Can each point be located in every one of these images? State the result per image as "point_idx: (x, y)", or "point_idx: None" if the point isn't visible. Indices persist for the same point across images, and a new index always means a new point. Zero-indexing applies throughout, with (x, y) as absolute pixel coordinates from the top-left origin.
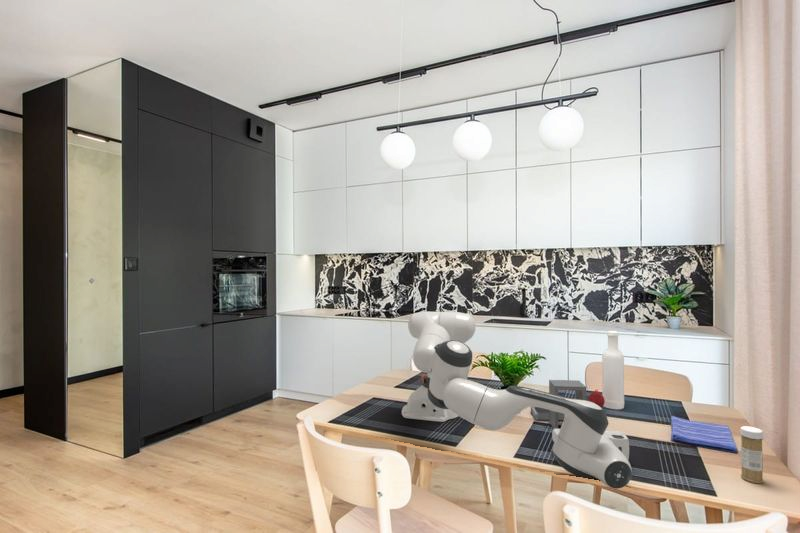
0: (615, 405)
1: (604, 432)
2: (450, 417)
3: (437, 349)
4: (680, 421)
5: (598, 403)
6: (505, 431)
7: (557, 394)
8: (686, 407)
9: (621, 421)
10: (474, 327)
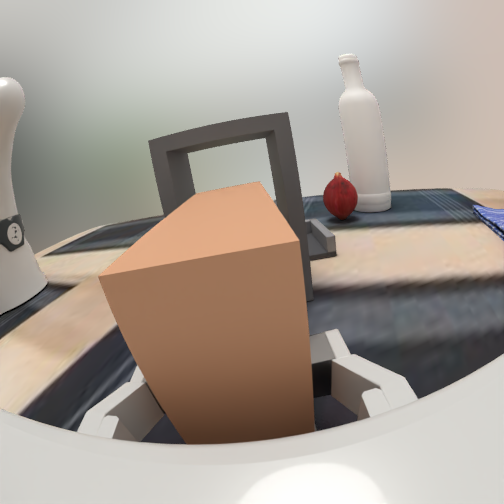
0: (377, 203)
1: (461, 455)
2: (7, 307)
3: None
4: (490, 213)
5: (345, 202)
6: (46, 344)
7: (167, 173)
8: (464, 193)
9: (402, 234)
10: (5, 93)
